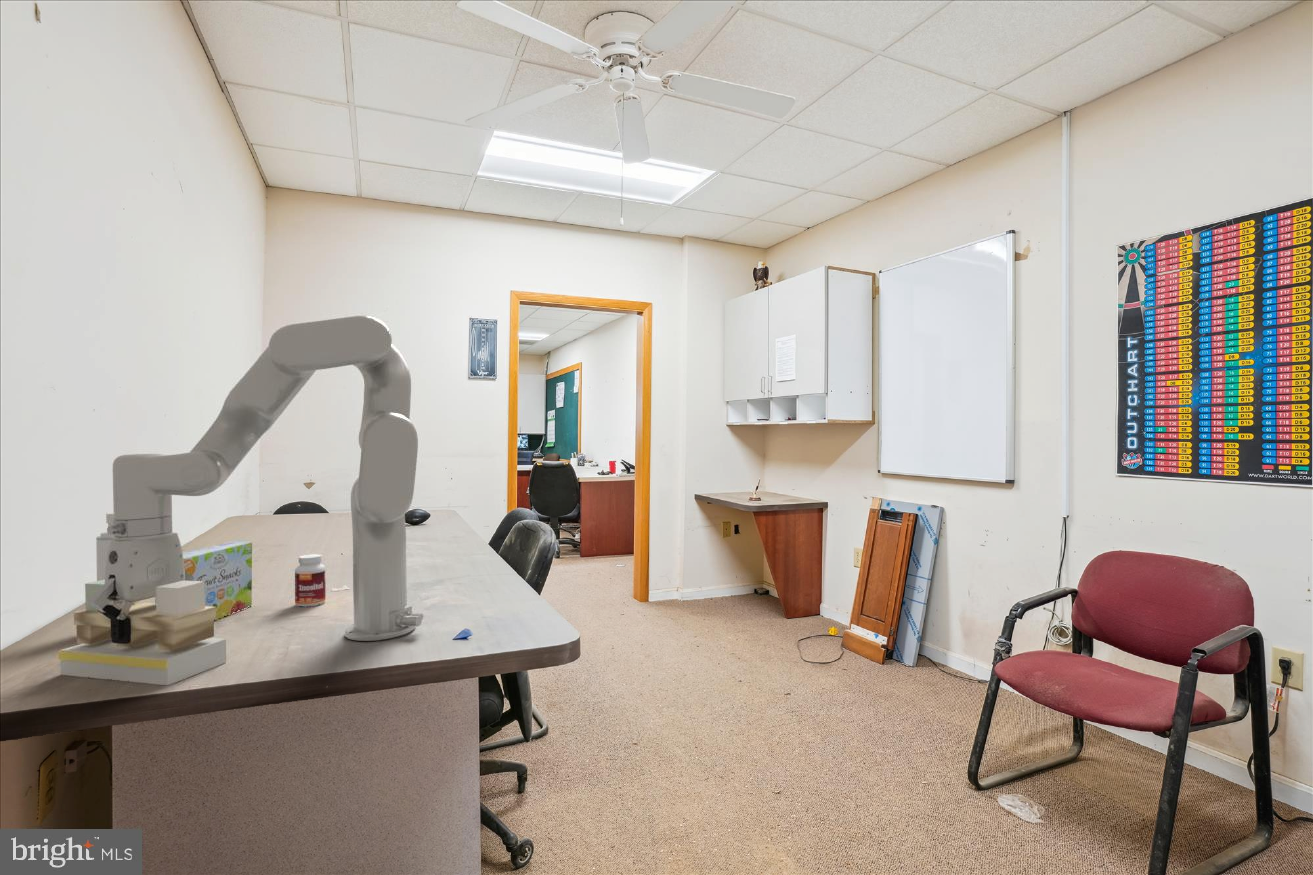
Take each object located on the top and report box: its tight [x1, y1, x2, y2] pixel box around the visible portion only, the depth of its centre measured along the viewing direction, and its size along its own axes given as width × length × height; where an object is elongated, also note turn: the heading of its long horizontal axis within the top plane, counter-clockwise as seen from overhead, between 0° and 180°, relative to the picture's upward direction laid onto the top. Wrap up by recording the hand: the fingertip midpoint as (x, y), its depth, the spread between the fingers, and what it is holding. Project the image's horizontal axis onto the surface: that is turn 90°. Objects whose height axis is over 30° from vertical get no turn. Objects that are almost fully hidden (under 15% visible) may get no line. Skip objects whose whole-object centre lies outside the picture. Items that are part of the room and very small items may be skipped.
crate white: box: [156, 581, 205, 616], centre depth 103 cm, size 4×4×4 cm
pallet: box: [73, 602, 216, 650], centre depth 104 cm, size 21×7×5 cm, turn 76°
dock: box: [57, 637, 227, 686], centre depth 104 cm, size 22×10×4 cm, turn 76°
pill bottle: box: [294, 553, 327, 608], centre depth 144 cm, size 6×6×11 cm
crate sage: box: [84, 580, 135, 611], centre depth 106 cm, size 4×4×4 cm
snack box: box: [154, 541, 253, 621], centre depth 132 cm, size 21×6×15 cm, turn 179°
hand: (146, 634), depth 104 cm, fingers closed on pallet, 7 cm apart
